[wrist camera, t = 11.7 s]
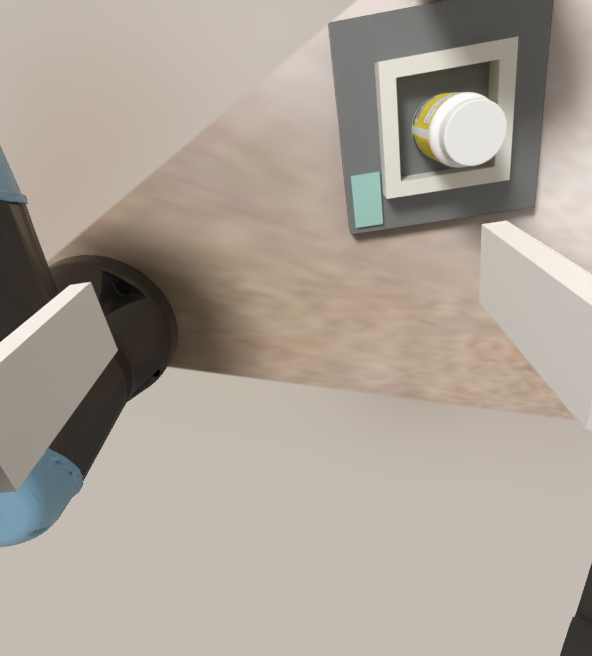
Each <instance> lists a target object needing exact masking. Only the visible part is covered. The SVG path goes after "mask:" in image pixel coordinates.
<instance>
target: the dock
mask: <svg viewBox="0 0 592 656" xmlns="http://www.w3.org/2000/svg"><path fill="white" fill-rule="evenodd" d="M552 7H553V0H445V1H440V2H435V3H430V4H424V5H419V6H414V7H409V8H403V9H398V10H393V11H388V12H382V13H377V14H372V15H367V16H361V17H356V18H351V19H346V20H340V21H335V22H330V23H329V24H328V29H329V38H330V48H331V58H332V67H333V77H334V87H335V96H336V106H337V116H338V125H339V135H340V145H341V154H342V164H343V174H344V183H345V193H346V203H347V212H348V222H349V231H350V234H356V233H363V232H370V231H376V230H383V229H390V228H397V227H403V226H410V225H417V224H423V223H430V222H437V221H443V220H450V219H457V218H464V217H470V216H477V215H484V214H490V213H497V212H504V211H510V210H517V209H524V208H531V207H535V197H536V186H537V174H538V163H539V152H540V141H541V130H542V119H543V108H544V96H545V85H546V74H547V63H548V52H549V41H550V30H551V19H552ZM456 92H474V93H478V94H481V95H483V96H485V97H486V98H488V99H489V100H490V101H493V102H494V103H496V104H497V105H499V107H500V108H501V109H502V110H503V112H504V114H505V116H506V120H507V134H506V138H505V141H504V143H503V145H502V147H501V148H500V150H499V151H498V152H497V154H496V155H495V156H493V157H492V158H491V159H490V160H488V161H487V162H485V163H483V164H480V165H477V166H467V167H460V168H456V167H450V166H447V165H444V164H442V163H440V162H438V161H436V160H434V159H432V158H430V157H428V156H426V155H424V154H422V153H421V152H420V151H419V150H418V149H417V147H416V146H415V144H414V141H413V138H412V131H411V128H412V121H413V118H414V116H415V113H416V111H417V110H418V108H419V107H420V106H421V105H422V104H423V103H424V102H425V101H426V100H427V99H429V98H430V97H432V96H434V95H437V94H441V93H456Z"/></svg>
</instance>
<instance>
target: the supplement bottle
mask: <svg viewBox="0 0 592 656" xmlns="http://www.w3.org/2000/svg"><path fill="white" fill-rule="evenodd" d="M411 131H412V138H413V141H414V144H415V146H416V147H417V149H418V150H419V151H420V152H421V153H422V154H424V155H426V156H428V157H430V158H432V159H434V160H436V161H438V162H440V163H442V164H444V165H447V166H450V167H456V168H460V167H467V166H477V165H480V164H483V163H485V162H487V161H488V160H490V159H491V158H492V157H493V156H495V155H496V154H497V152H498V151H499V150H500V148H501V147H502V145H503V143H504V141H505V138H506V134H507V120H506V116H505V114H504V112H503V110H502V109H501V108H500V107H499V105H497V104H496V103H494V102H493V101H490V100H489V99H488V98H486V97H485V96H483V95H481V94H478V93H474V92H456V93H441V94H437V95H434V96H432V97H430V98H429V99H427V100H426V101H425V102H424V103H423V104H422V105H421V106H420V107H419V108H418V110H417V111H416V113H415V116H414V118H413V121H412V128H411Z"/></svg>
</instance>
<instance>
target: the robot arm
mask: <svg viewBox="0 0 592 656" xmlns="http://www.w3.org/2000/svg"><path fill="white" fill-rule="evenodd" d="M26 204H28V202H27V198H26V196H25V195H23V194H22V193H21V191H20V189H19V187H18V184H17V182H16V180H15V178H14V175H13V173H12V171H11V168H10V166H9V164H8V162H7V159H6V157H5V155H4V153H3V150H2V148H1V146H0V547H5V546H12V545H16V544H20V543H23V542H26V541H29V540H31V539H33V538H35V537H37V536H39V535H41V534H42V533H44V532H45V531H47V530H48V529H49V528H50V527H51V526H52V525H53V524H54V523H55V522H56V521H57V520H58V518H59V517H60V515H61V513H62V512H63V511H64V509H65V508H66V506H67V504H68V503H69V501H70V500H71V499H72V497H74V496H75V495H76V494H77V493H78V492H79V491H80V489H81V488H82V485H83V481H84V479H85V477H86V475H87V473H88V471H89V470H90V468H91V466H92V464H93V462H94V460H95V458H96V457H97V455H98V453H99V451H100V449H101V448H102V446H103V444H104V442H105V440H106V438H107V436H108V435H109V433H110V431H111V429H112V428H113V426H114V424H115V422H116V420H117V418H118V417H119V415H120V413H121V411H122V409H123V408H124V406H125V404H126V402H128V401H129V400H131V399H132V398H133V397H135V396H136V395H138V394H139V393H140V392H142V391H143V390H145V389H146V388H148V387H149V386H150V385H152V384H153V383H154V382H155V381H156V380H157V379H158V378H159V377H160V376H161V375H162V374H163V372H164V371H165V369H166V367H167V366H168V364H169V362H170V360H171V358H172V356H173V353H174V351H175V347H176V342H177V326H176V321H175V317H174V314H173V311H172V309H171V307H170V305H169V303H168V301H167V300H166V298H165V296H164V295H163V294H162V292H161V291H160V290H159V289H158V287H157V286H156V285H155V284H154V283H153V282H152V281H150V280H149V279H148V278H147V277H146V276H144V275H143V274H142V273H140V272H139V271H137V270H136V269H134V268H132V267H130V266H128V265H126V264H124V263H122V262H119V261H117V260H113V259H110V258H106V257H100V256H89V255H85V256H74V257H70V258H66V259H63V260H60V261H58V262H56V263H54V264H52V265H51V266H49V267H48V264H47V261H46V259H45V256H44V253H43V251H42V248H41V246H40V243H39V240H38V237H37V235H36V232H35V229H34V227H33V224H32V221H31V218H30V215H29V212H28V209H27V206H26ZM479 303H480V304H481V305H482V307H483V308H484V309H485V310H486V311H487V313H488V314H489V315H490V316H491V317H492V319H493V320H494V321H495V322H496V323H497V325H498V326H499V327H500V328H501V329H502V330H503V332H504V333H505V334H506V335H507V336H508V338H509V339H510V340H511V341H512V342H513V344H514V345H515V346H516V347H517V348H518V350H519V351H520V352H521V353H522V354H523V356H524V357H525V358H526V359H527V360H528V362H529V363H530V364H531V365H532V366H533V368H534V369H535V370H536V371H537V372H538V373H539V375H540V376H541V377H542V378H543V379H544V381H545V382H546V383H547V384H548V385H549V387H550V388H551V389H552V390H553V391H554V393H555V394H556V395H557V396H558V397H559V399H560V400H561V401H562V402H563V403H564V405H565V406H566V407H567V408H568V409H569V411H570V412H571V413H572V414H573V415H574V416H575V418H576V419H577V420H578V421H579V422H580V424H581V425H582V426H583V427H584V428H585V430H592V274H590V273H589V272H587V271H586V270H584V269H582V268H581V267H579V266H578V265H576V264H574V263H573V262H571V261H570V260H568V259H567V258H565V257H563V256H562V255H560V254H559V253H557V252H555V251H554V250H552V249H551V248H549V247H547V246H546V245H544V244H543V243H541V242H540V241H538V240H536V239H535V238H533V237H532V236H530V235H528V234H527V233H525V232H524V231H522V230H521V229H519V228H517V227H516V226H514V225H513V224H511V223H509V222H508V221H500V222H494V223H487V224H482V230H481V257H480V285H479ZM560 656H592V565H591V567H590V571H589V574H588V577H587V580H586V584H585V587H584V590H583V593H582V596H581V600H580V603H579V606H578V609H577V612H576V615H575V617H573V618H572V621H571V624H570V626H569V629H568V632H567V635H566V638H565V642H564V644H563V648H562V651H561V654H560Z"/></svg>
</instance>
